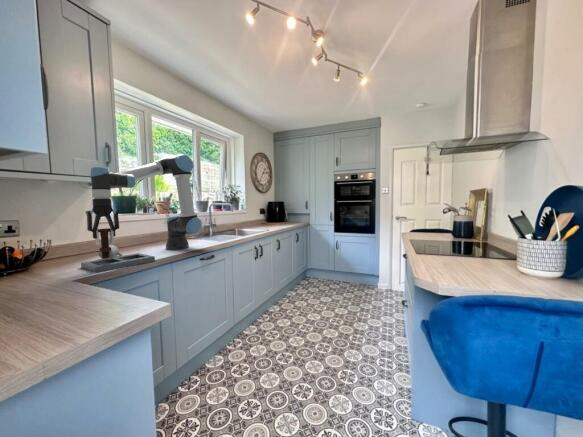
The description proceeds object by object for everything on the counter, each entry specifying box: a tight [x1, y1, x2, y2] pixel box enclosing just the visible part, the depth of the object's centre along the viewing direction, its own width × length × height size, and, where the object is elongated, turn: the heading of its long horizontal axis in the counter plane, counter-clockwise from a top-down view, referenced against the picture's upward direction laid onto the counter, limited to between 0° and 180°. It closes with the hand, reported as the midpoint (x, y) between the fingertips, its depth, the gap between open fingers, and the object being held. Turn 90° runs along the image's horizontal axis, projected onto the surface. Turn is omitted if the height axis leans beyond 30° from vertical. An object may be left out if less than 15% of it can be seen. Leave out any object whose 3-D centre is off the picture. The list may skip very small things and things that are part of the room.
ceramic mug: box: [98, 244, 124, 259], centre depth 144 cm, size 11×8×8 cm
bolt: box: [97, 227, 111, 259], centre depth 123 cm, size 6×5×15 cm
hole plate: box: [80, 252, 156, 274], centre depth 129 cm, size 27×19×2 cm
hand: (105, 243), depth 123 cm, fingers closed on bolt, 5 cm apart
